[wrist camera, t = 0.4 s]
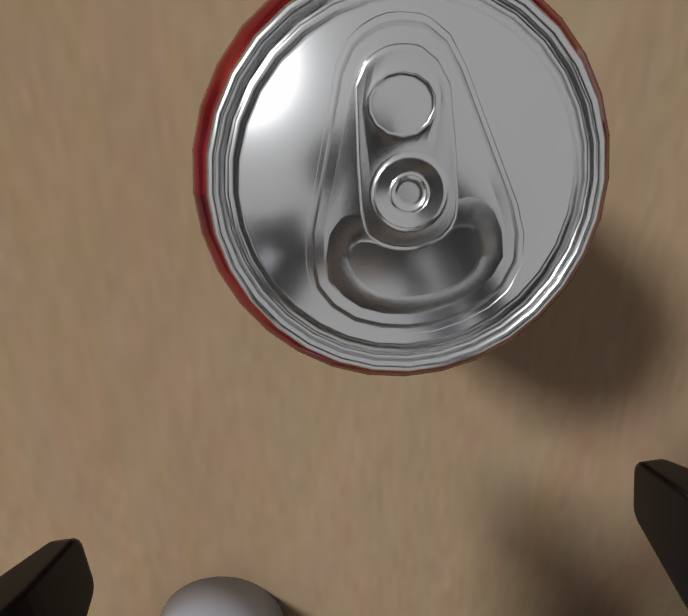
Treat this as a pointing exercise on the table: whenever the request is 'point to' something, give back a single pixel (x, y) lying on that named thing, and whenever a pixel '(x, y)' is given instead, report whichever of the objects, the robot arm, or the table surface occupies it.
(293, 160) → the soda can
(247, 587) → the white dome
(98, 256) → the table surface
